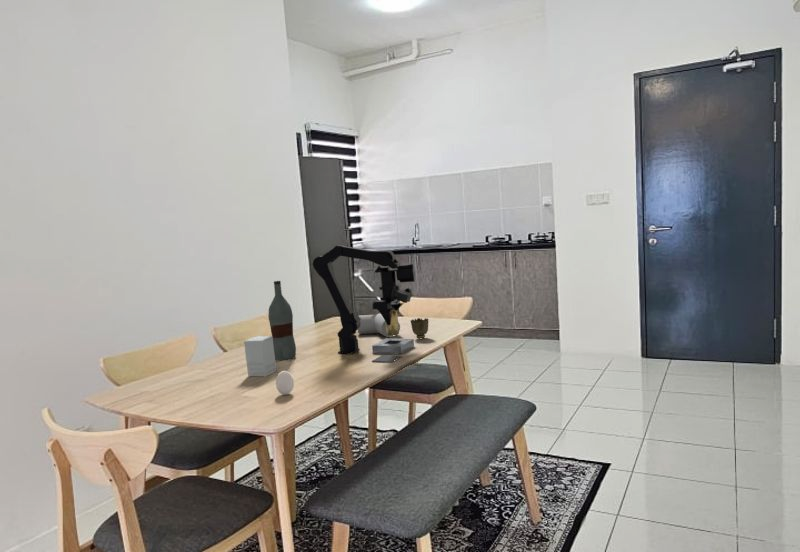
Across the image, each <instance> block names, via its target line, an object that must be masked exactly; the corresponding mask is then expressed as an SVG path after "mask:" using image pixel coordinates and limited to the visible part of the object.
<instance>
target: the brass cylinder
mask: <svg viewBox="0 0 800 552" xmlns="http://www.w3.org/2000/svg"><path fill="white" fill-rule="evenodd" d="M398 322H399V313H398V314H397V310H395V309H393V310H392V311H391V324H390V325H387V323H386V333H387V335H390V336H391V335H396V336H398V335H399V334H400V331H399V326H398Z"/></svg>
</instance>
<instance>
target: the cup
mask: <svg viewBox="0 0 800 552" xmlns="http://www.w3.org/2000/svg"><path fill="white" fill-rule="evenodd" d="M410 325H411V330H412V333H413V334H414V335H415V337H416V339H417V338H424V337H425V338H426V334H427V333H428V330H429V318H427V317H425V318H421V317H420V318H419V317H418V318H417V319H416V318H412V319H411V320H410ZM425 338H424V339H425Z"/></svg>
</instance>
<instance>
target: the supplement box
mask: <svg viewBox="0 0 800 552" xmlns="http://www.w3.org/2000/svg"><path fill="white" fill-rule="evenodd" d="M243 345H244V353H245V361H246V368H247V376H248V377H267V376H268V375H271V374H273V373H275V372H277V365H276V361H275V354H274V346H273V337H272V335H267V336H266V335H265V336H259V335H258V336H253V337H251V338H248V339H246V340H244V341H243Z"/></svg>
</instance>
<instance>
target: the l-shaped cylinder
mask: <svg viewBox="0 0 800 552" xmlns="http://www.w3.org/2000/svg"><path fill="white" fill-rule="evenodd" d="M358 316H359V317H360V318H361V320H360V322H361V324H360V327H359V328H358V329H357V330H356V331H357V332H358V335H372V334H373V335H375V334H374V333H377V334H380V335H382V336H385V337H386V338H388V336H390V335H387V333H386V321H385V320H384V318H383V316H382V315H381V313H380V312H379V313H377V314H366V315H365V314H363V315H361V314H360V315H359V314H358ZM398 326H399V332H400V331H401V325H400V323H399V321H398ZM391 336H393V335H391Z"/></svg>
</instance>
